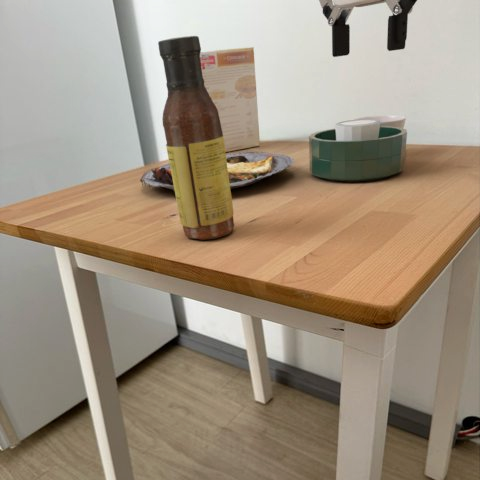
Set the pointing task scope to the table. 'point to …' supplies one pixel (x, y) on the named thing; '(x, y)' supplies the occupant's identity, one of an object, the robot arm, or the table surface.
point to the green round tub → (357, 155)
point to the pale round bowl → (388, 120)
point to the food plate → (230, 169)
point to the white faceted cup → (357, 130)
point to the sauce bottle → (195, 143)
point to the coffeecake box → (233, 94)
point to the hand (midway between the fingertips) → (367, 53)
